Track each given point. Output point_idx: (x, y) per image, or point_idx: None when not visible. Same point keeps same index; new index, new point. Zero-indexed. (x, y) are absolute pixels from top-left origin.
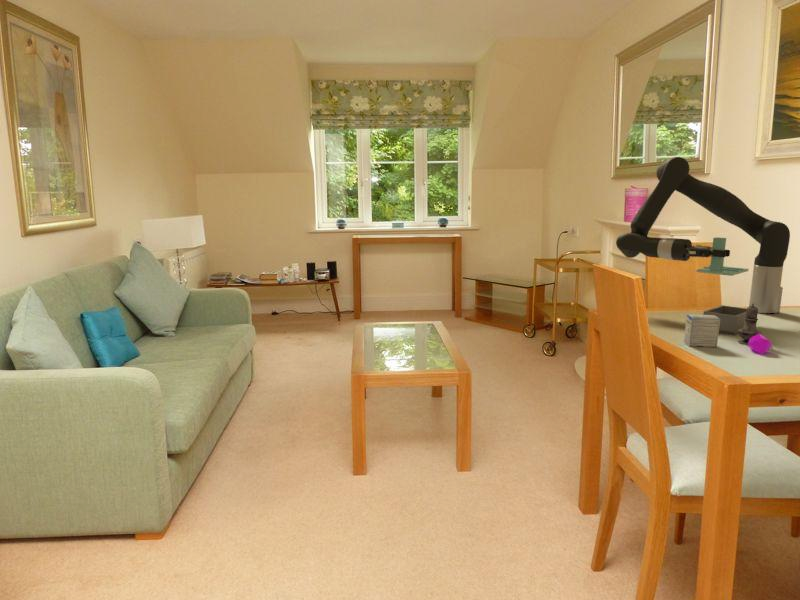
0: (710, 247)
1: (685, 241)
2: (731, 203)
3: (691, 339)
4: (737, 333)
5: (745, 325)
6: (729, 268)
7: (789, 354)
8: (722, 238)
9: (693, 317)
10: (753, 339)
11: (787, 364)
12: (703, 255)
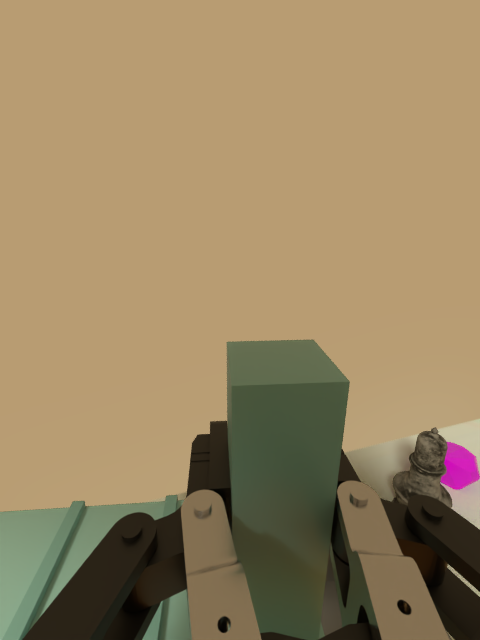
0: (212, 568)
1: None
2: None
3: None
4: None
5: (439, 484)
6: (45, 593)
7: (398, 443)
8: (312, 342)
9: None
10: (475, 461)
11: (458, 430)
12: (468, 588)
